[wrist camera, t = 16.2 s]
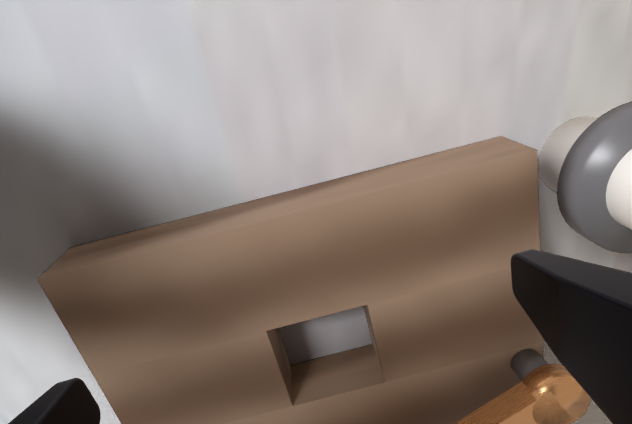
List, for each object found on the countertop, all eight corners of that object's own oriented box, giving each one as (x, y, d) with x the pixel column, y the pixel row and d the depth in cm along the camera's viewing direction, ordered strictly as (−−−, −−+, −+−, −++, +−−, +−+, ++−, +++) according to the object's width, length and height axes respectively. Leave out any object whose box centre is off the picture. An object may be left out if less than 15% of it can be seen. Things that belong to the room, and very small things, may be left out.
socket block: (69, 248, 20) (16, 299, 16) (501, 136, 20) (559, 158, 16) (184, 463, 26) (167, 541, 22) (516, 377, 26) (562, 439, 22)
